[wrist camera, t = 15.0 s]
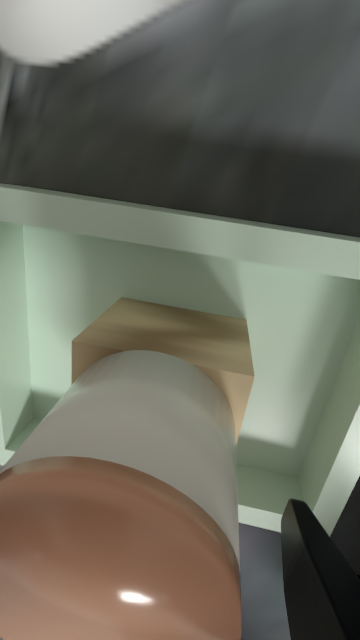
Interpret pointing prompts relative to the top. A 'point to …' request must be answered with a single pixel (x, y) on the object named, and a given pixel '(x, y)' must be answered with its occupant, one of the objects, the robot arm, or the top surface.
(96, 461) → the cream tub
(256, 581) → the top surface
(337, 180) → the top surface
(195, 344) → the oak block
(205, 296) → the green tote
